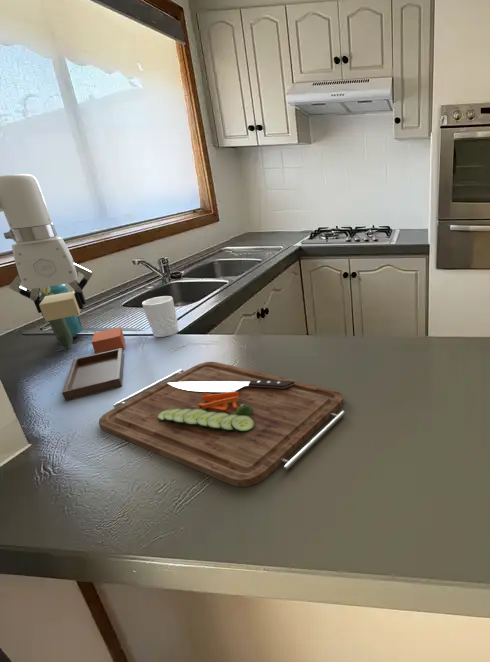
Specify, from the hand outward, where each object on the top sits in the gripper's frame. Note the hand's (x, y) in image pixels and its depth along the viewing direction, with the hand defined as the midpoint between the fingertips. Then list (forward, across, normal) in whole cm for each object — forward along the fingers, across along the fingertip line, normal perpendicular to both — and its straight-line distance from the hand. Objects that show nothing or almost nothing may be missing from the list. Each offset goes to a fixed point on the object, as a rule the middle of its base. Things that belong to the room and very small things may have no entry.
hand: (64, 310), depth 99 cm
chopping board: (+15, +26, -42) cm, 52 cm away
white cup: (+15, +19, +12) cm, 27 cm away
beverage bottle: (+15, -6, +28) cm, 32 cm away
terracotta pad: (+15, +5, +10) cm, 19 cm away
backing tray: (+15, +3, -8) cm, 17 cm away
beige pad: (+1, 0, 0) cm, 1 cm away
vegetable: (+15, -6, +18) cm, 24 cm away
